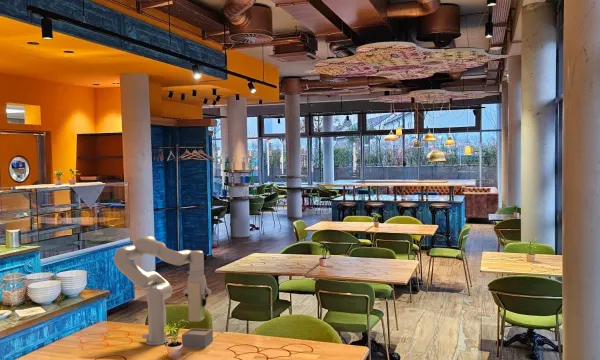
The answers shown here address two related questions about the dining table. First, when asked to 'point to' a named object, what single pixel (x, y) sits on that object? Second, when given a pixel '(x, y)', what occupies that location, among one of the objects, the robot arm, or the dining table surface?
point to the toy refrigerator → (195, 303)
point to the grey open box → (197, 338)
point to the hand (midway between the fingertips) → (197, 305)
